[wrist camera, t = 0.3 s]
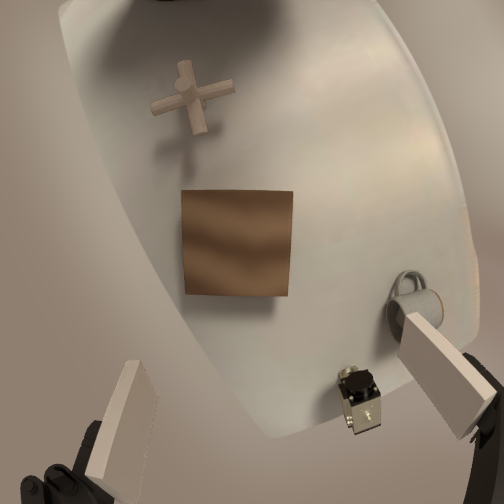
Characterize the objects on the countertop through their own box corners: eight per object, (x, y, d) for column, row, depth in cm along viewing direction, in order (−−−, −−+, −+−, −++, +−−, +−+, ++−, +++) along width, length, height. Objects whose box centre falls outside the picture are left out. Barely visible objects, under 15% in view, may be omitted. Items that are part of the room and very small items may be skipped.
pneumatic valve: (357, 347, 43) (383, 392, 31) (362, 390, 46) (383, 433, 34) (327, 357, 43) (346, 406, 32) (336, 400, 46) (352, 445, 35)
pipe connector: (172, 150, 35) (146, 141, 25) (158, 87, 32) (131, 63, 23) (244, 130, 34) (241, 113, 25) (227, 66, 32) (220, 34, 22)
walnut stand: (190, 189, 36) (181, 190, 31) (287, 189, 36) (293, 191, 31) (192, 280, 40) (185, 294, 35) (283, 282, 40) (287, 296, 35)
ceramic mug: (423, 317, 42) (445, 337, 34) (385, 330, 42) (404, 354, 35) (424, 262, 39) (451, 276, 32) (383, 274, 40) (407, 292, 32)
